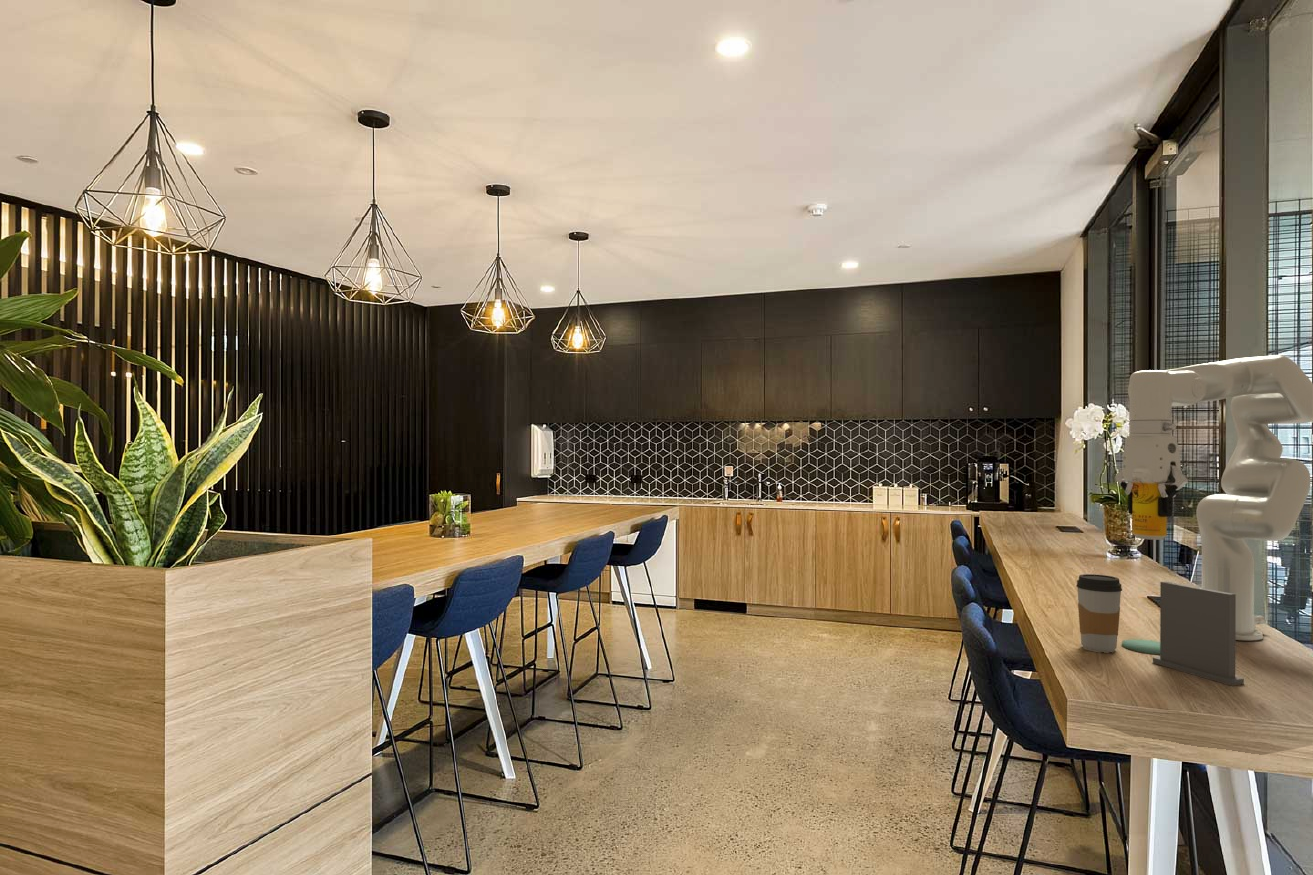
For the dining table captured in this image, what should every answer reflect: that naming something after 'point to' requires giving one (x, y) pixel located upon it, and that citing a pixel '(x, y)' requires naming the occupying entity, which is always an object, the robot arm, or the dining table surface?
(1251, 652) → the dining table surface
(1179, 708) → the dining table surface
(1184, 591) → the screen
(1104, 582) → the coffee cup
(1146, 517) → the beer can
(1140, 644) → the coaster
